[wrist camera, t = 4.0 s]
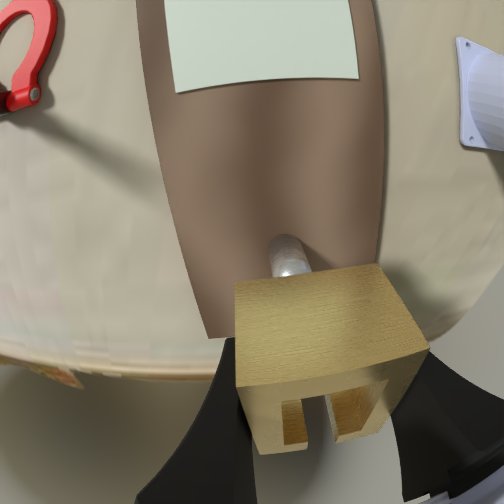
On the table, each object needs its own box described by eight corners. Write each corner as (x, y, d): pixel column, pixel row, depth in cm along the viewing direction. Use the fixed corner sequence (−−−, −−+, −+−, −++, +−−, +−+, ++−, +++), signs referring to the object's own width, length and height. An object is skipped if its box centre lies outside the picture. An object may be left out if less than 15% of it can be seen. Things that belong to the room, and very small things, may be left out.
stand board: (345, -60, 7) (352, -67, 6) (359, 306, 21) (364, 317, 20) (140, -47, 7) (134, -54, 6) (209, 327, 21) (208, 338, 20)
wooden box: (377, 262, 9) (430, 347, 6) (355, 362, 12) (378, 431, 9) (235, 282, 9) (236, 387, 6) (254, 378, 12) (259, 454, 9)
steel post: (301, 232, 16) (317, 270, 13) (302, 261, 17) (316, 302, 14) (266, 236, 16) (274, 276, 13) (269, 265, 17) (276, 308, 14)
